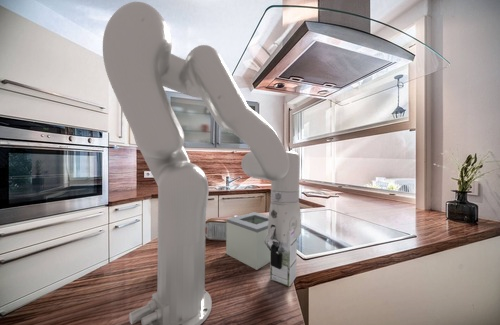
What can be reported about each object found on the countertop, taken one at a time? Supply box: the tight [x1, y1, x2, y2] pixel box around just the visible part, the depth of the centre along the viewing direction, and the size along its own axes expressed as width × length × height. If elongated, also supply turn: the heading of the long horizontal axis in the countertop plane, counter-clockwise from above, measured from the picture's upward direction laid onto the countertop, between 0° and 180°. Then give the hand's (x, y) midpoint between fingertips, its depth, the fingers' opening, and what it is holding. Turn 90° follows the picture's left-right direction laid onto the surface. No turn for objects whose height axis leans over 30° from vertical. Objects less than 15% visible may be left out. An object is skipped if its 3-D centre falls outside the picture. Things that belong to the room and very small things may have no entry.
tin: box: [205, 217, 228, 242], centre depth 79 cm, size 15×3×8 cm, turn 84°
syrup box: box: [269, 229, 298, 287], centre depth 53 cm, size 6×6×14 cm
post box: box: [225, 211, 271, 271], centre depth 67 cm, size 14×14×12 cm
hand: (283, 261), depth 53 cm, fingers closed on syrup box, 6 cm apart
